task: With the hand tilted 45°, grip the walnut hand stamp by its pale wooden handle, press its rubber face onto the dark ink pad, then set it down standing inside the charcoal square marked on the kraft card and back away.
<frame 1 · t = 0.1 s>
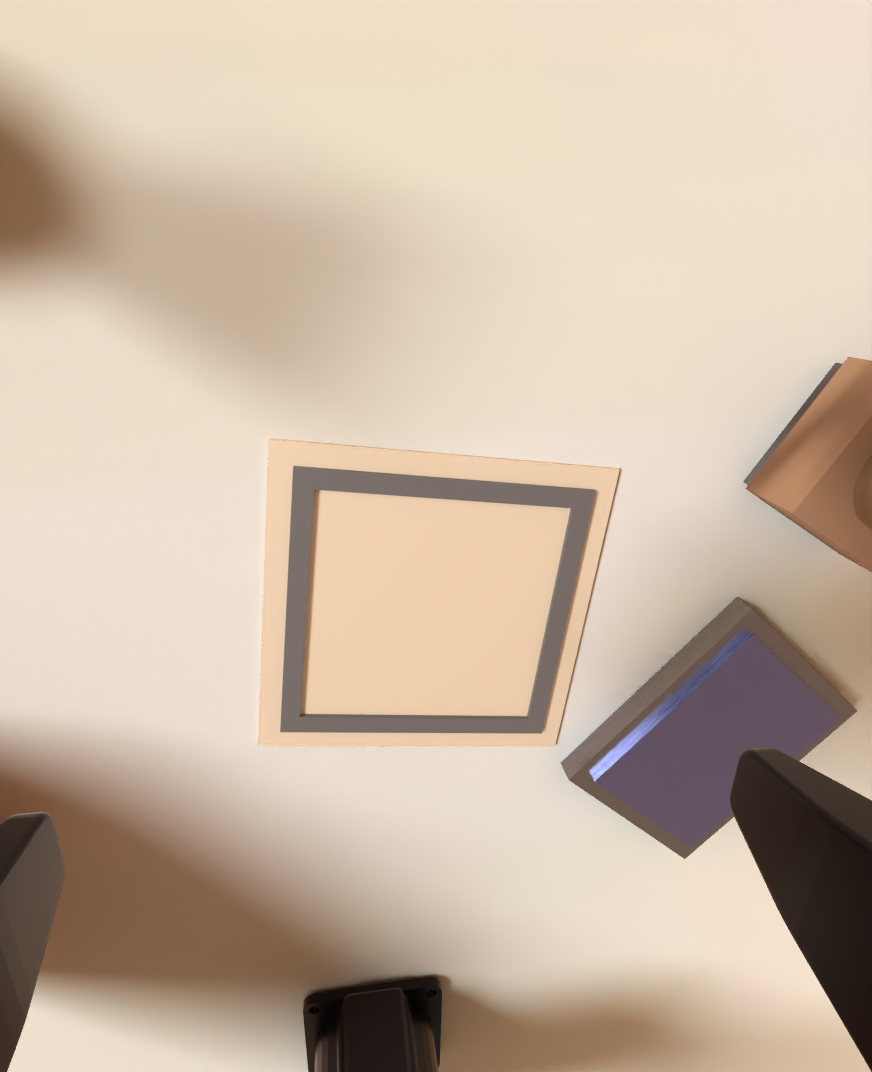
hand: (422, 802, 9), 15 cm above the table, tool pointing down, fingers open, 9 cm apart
stamp: (832, 457, 24), on the table
marked card: (430, 612, 24), on the table
ink pad: (703, 729, 28), on the table
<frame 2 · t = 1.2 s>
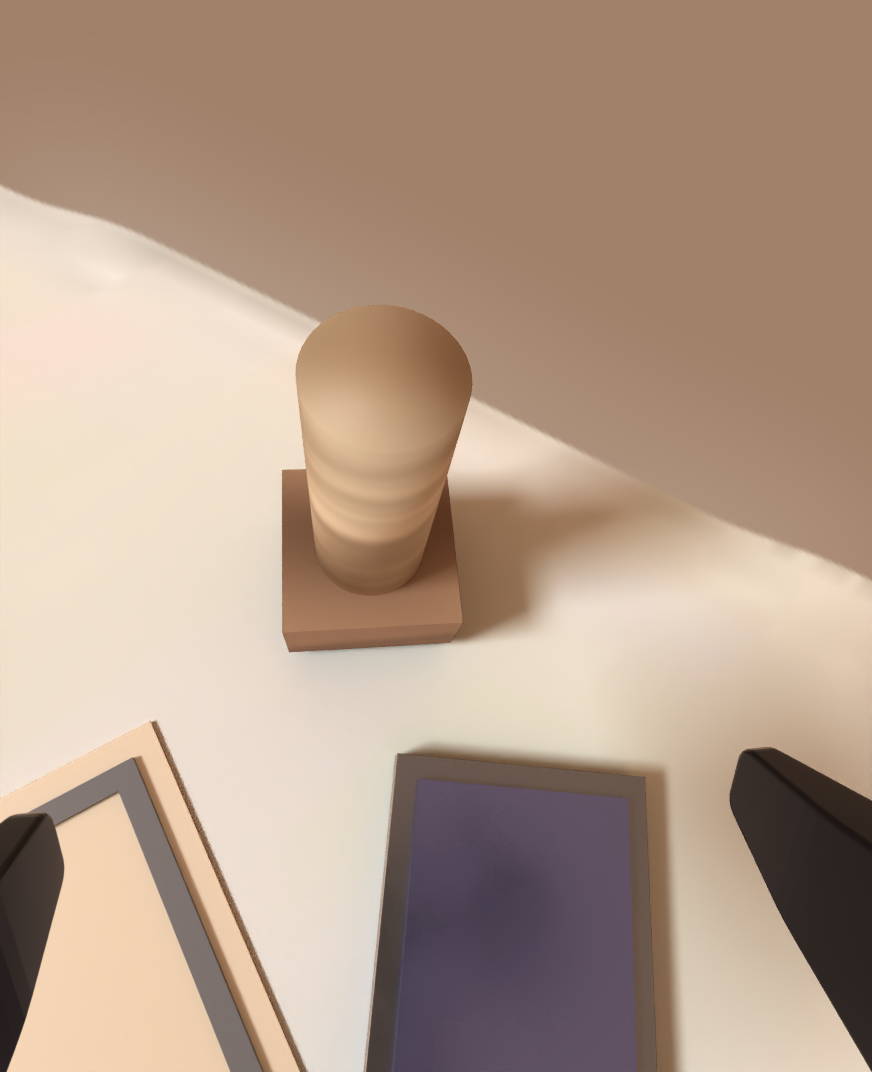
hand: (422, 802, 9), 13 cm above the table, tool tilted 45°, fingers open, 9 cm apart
stamp: (366, 577, 24), on the table
marked card: (15, 1039, 17), on the table
ink pad: (510, 942, 20), on the table
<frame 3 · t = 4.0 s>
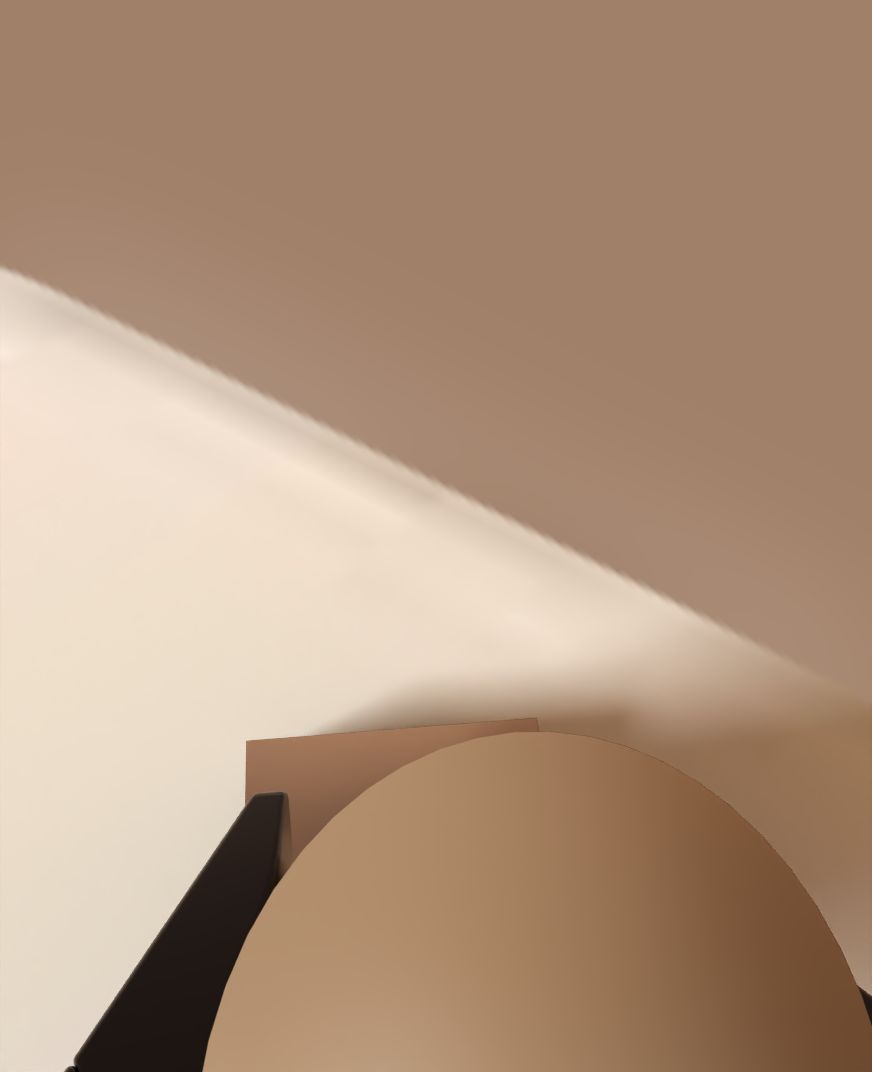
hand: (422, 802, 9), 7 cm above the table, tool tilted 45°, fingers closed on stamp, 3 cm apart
stamp: (394, 875, 14), on the table, touching gripper
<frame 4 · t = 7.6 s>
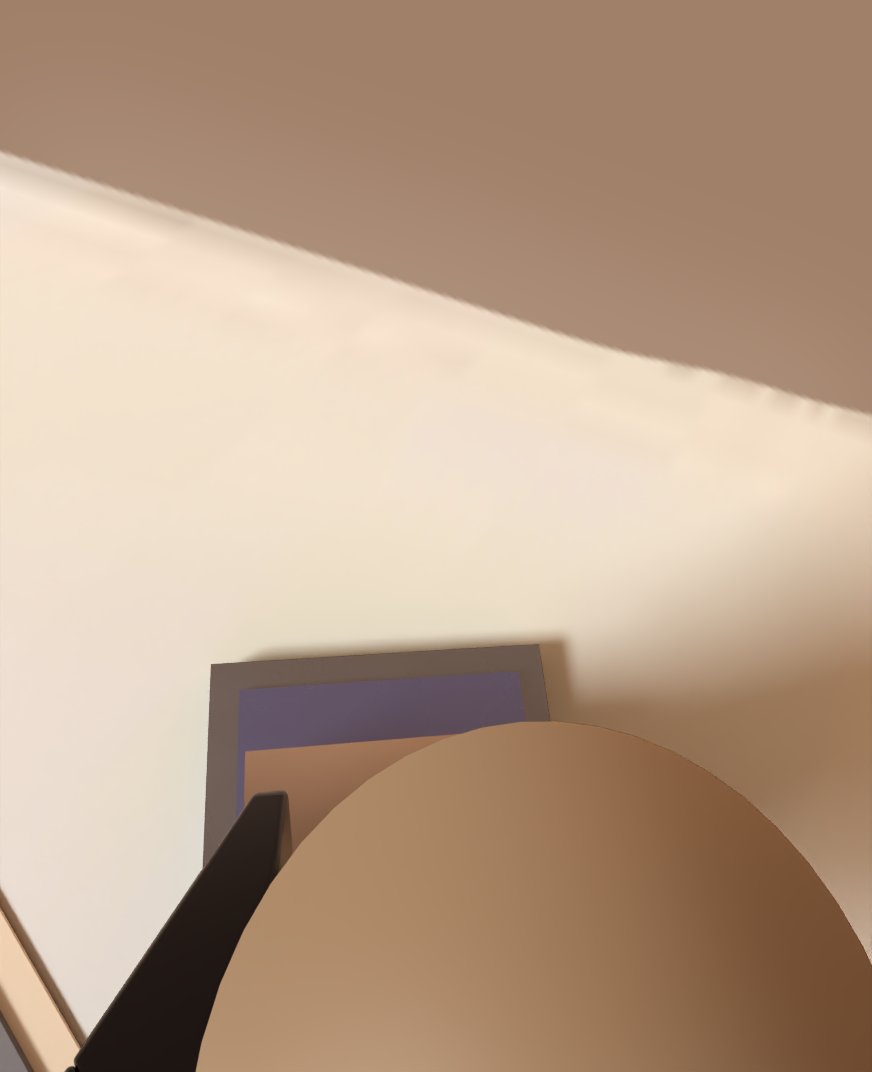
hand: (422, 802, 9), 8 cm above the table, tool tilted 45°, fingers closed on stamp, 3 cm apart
stamp: (396, 891, 14), point 1 cm above the table, touching gripper, ink pad
ink pad: (391, 878, 15), on the table
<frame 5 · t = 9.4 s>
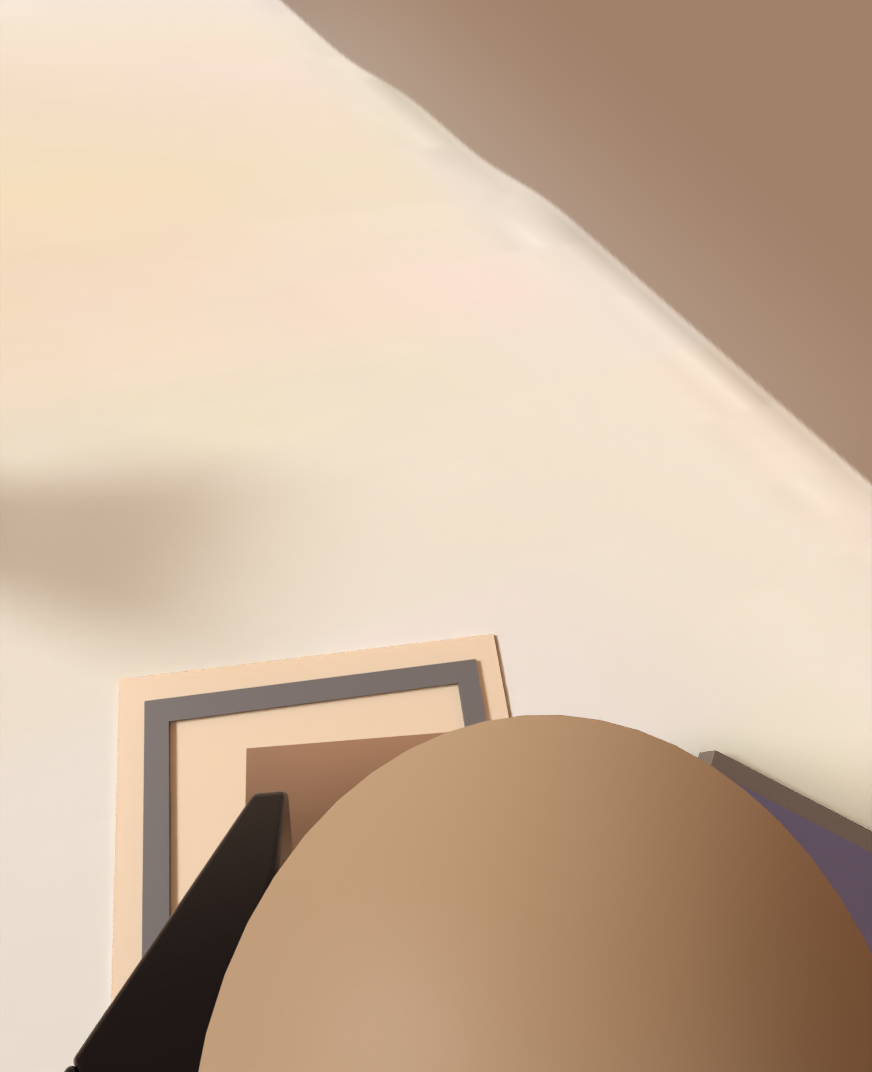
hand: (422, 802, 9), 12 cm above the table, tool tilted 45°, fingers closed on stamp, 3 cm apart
stamp: (396, 888, 14), point 6 cm above the table, touching gripper
marked card: (332, 857, 19), on the table
ink pad: (774, 973, 20), on the table
when the fingers open (7 cm above the table, at t = 11.1 s): stamp stays where it is, resting on marked card.
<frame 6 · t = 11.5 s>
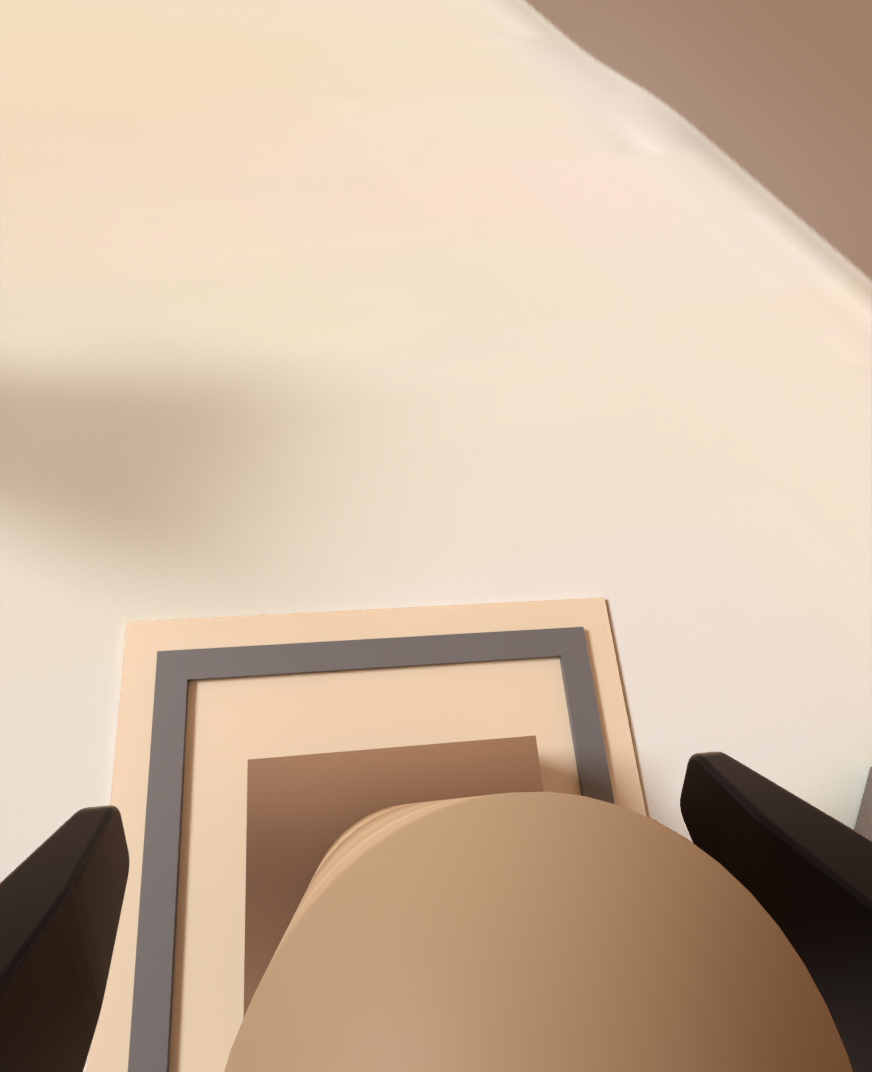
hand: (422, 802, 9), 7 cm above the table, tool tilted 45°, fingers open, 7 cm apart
stamp: (394, 890, 14), resting on marked card
marked card: (393, 874, 14), on the table
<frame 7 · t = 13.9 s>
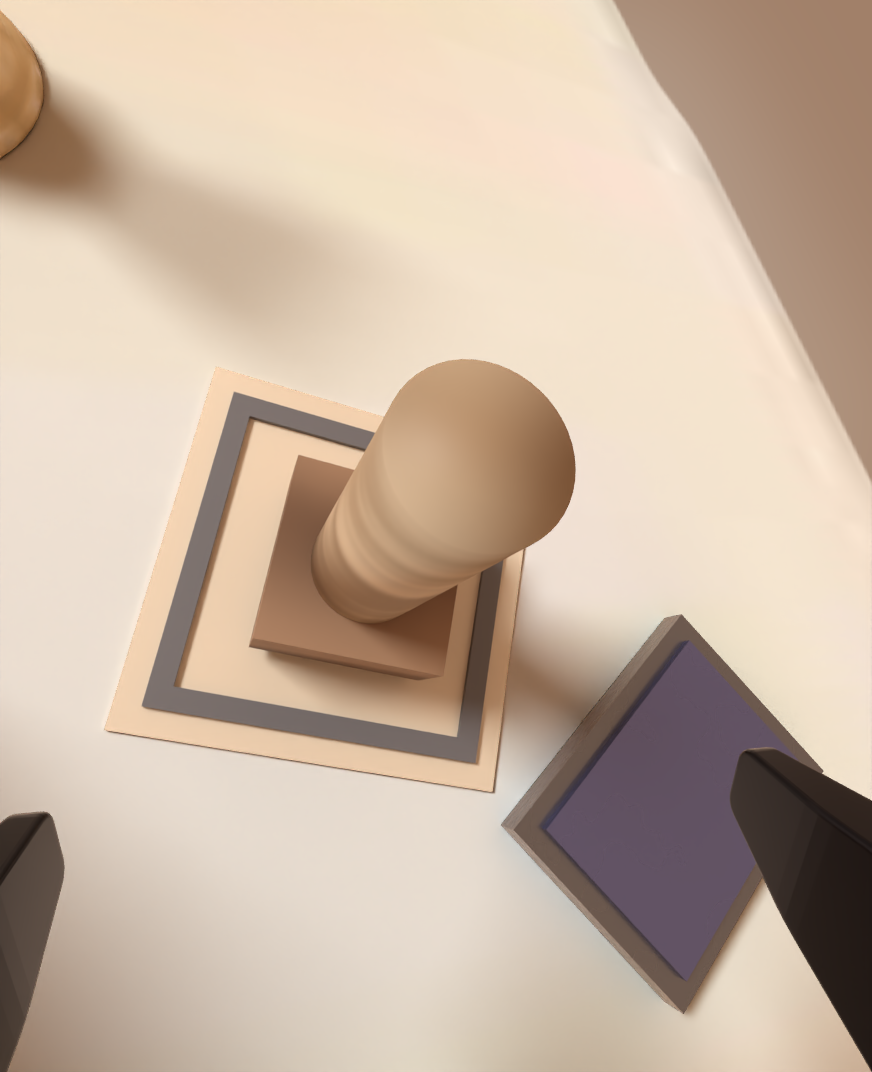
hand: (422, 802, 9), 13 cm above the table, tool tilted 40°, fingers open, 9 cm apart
stamp: (349, 584, 22), resting on marked card
marked card: (351, 576, 22), on the table
ink pad: (664, 794, 24), on the table
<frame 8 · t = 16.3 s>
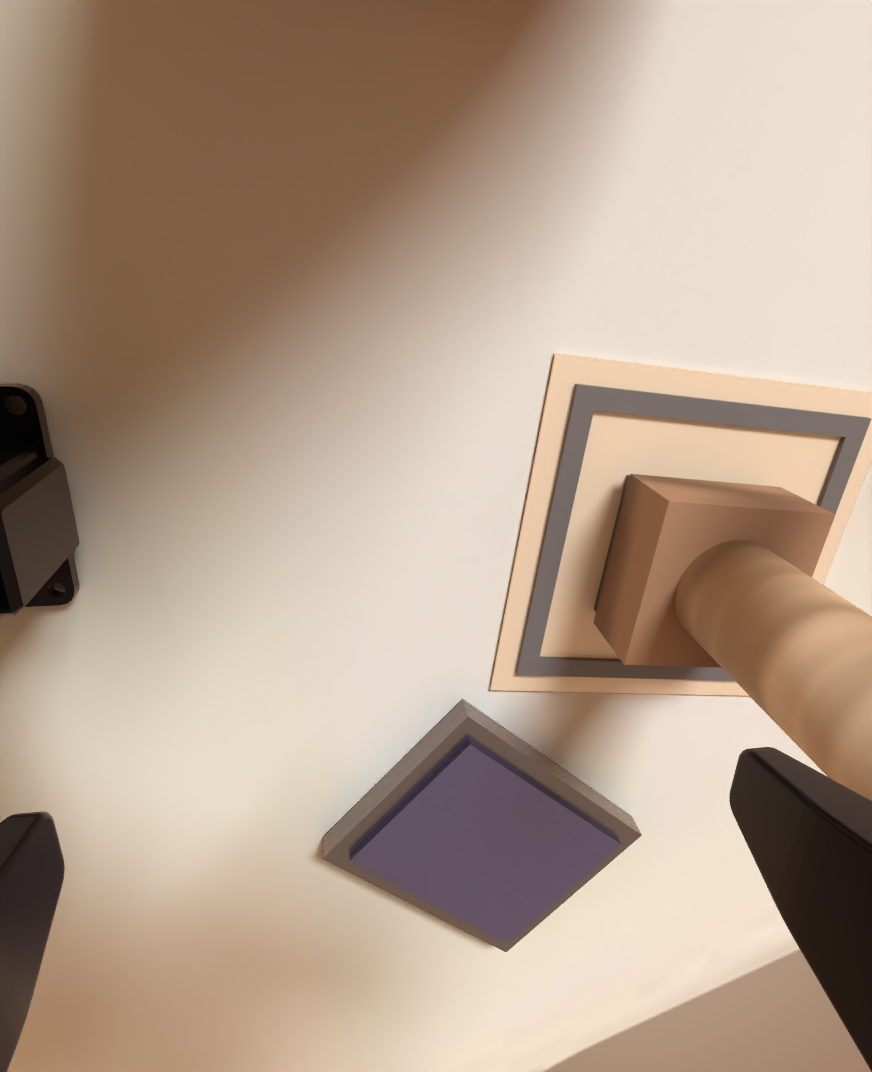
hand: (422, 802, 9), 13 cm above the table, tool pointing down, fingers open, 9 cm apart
stamp: (676, 549, 23), resting on marked card
marked card: (682, 548, 23), on the table
ink pad: (483, 826, 27), on the table
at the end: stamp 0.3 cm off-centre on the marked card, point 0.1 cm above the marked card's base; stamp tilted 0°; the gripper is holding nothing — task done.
